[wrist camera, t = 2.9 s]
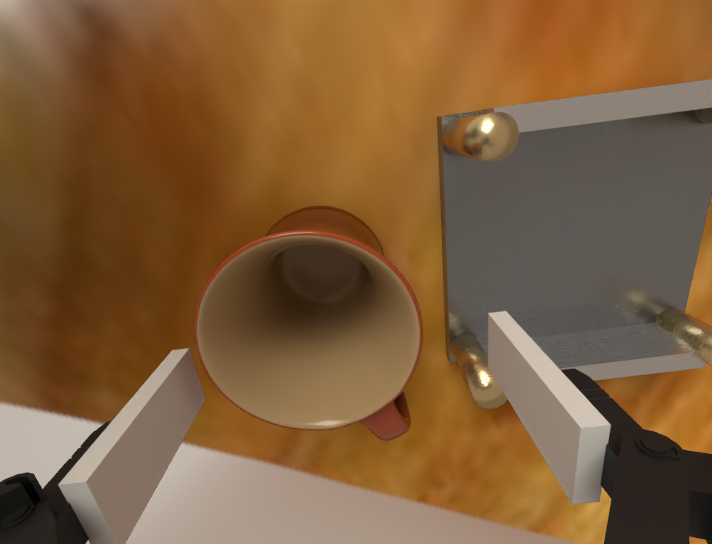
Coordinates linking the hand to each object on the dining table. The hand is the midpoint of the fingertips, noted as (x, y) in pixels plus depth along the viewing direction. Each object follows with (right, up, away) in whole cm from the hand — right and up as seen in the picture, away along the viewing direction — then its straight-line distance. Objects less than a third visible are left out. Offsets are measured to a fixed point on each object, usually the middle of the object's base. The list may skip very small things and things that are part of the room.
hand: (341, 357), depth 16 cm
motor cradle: (+14, +6, +7) cm, 17 cm away
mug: (-1, +3, +8) cm, 9 cm away
